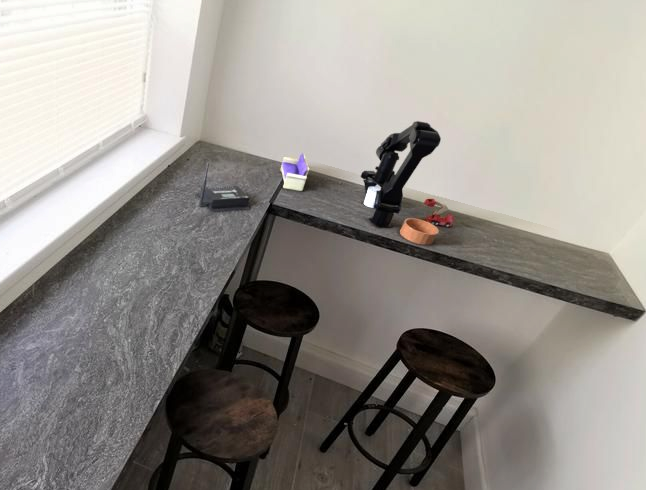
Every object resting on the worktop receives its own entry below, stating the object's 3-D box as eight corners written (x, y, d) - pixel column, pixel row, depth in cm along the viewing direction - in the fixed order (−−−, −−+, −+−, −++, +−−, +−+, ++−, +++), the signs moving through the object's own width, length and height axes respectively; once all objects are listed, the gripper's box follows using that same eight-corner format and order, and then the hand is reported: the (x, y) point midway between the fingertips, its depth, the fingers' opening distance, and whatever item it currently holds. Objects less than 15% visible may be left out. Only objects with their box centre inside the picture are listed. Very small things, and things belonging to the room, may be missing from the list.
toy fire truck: (451, 227, 198) (463, 206, 192) (418, 222, 198) (429, 200, 192) (448, 224, 201) (460, 202, 195) (415, 218, 201) (426, 197, 195)
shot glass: (376, 210, 203) (383, 194, 198) (360, 204, 205) (366, 189, 201) (380, 204, 208) (386, 189, 203) (364, 199, 210) (370, 184, 206)
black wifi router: (233, 192, 198) (242, 151, 188) (249, 209, 188) (261, 166, 178) (188, 195, 191) (196, 152, 181) (203, 212, 181) (212, 168, 171)
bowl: (412, 245, 182) (418, 234, 179) (393, 228, 191) (398, 218, 188) (440, 244, 185) (445, 234, 182) (419, 228, 194) (424, 218, 191)
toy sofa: (279, 170, 224) (285, 148, 218) (298, 173, 224) (304, 151, 218) (282, 188, 208) (289, 165, 202) (302, 192, 208) (310, 169, 201)
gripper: (417, 176, 191) (400, 212, 201) (389, 158, 205) (375, 192, 215) (393, 176, 188) (377, 212, 198) (367, 157, 202) (353, 192, 212)
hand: (371, 202), depth 206 cm, fingers closed on shot glass, 6 cm apart
